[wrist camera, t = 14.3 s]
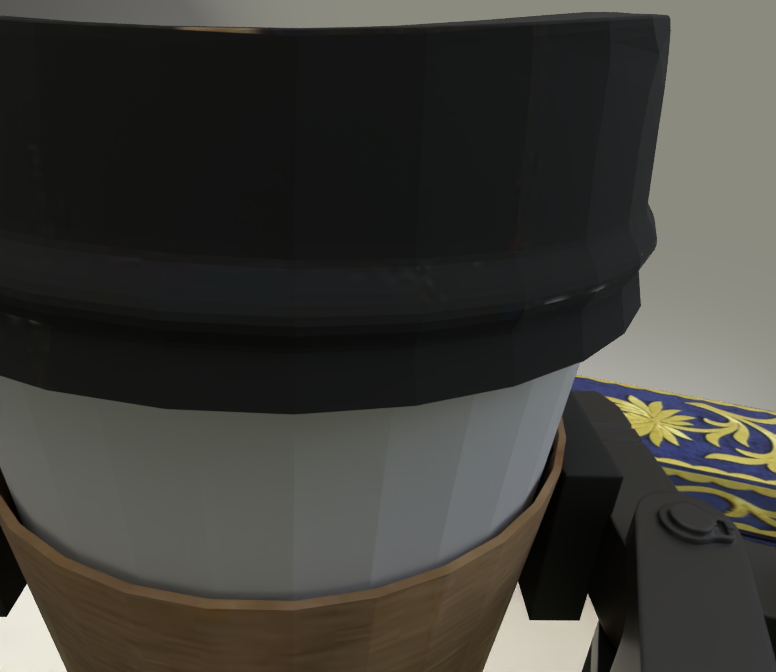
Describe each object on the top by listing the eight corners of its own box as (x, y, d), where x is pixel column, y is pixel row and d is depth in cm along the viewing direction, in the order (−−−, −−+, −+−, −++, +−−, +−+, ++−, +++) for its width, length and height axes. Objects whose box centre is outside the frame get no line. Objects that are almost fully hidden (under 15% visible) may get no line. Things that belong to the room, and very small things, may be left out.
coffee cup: (543, 1021, 10) (1057, 14, 3) (-1, 1122, 9) (-959, -211, 2) (438, 601, 17) (530, 30, 11) (136, 620, 16) (30, -15, 9)
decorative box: (477, 454, 46) (495, 352, 42) (924, 553, 39) (995, 443, 35) (454, 558, 36) (473, 438, 32) (1036, 709, 30) (1150, 584, 26)
